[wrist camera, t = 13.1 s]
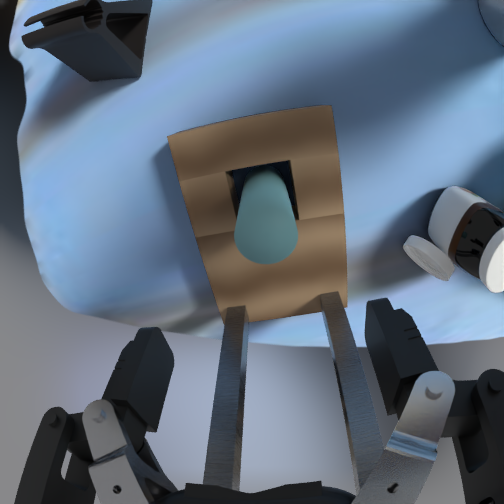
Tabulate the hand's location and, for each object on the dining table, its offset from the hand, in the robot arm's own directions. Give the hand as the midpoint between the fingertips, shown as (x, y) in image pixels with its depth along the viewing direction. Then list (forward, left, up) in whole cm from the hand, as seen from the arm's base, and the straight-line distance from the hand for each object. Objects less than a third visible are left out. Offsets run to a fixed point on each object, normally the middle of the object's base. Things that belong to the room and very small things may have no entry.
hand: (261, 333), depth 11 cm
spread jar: (+8, +21, -21) cm, 31 cm away
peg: (0, 0, -21) cm, 21 cm away
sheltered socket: (+4, 0, -21) cm, 21 cm away
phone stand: (-19, -11, -21) cm, 30 cm away
